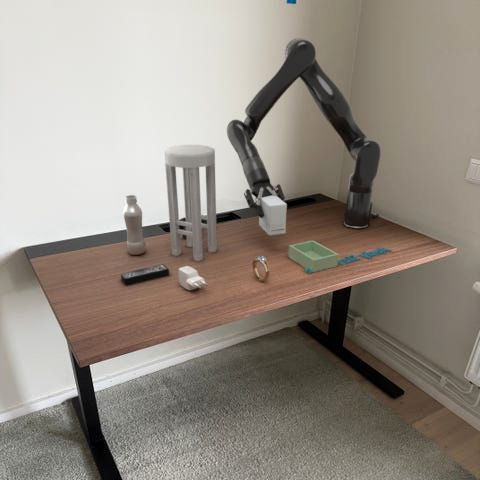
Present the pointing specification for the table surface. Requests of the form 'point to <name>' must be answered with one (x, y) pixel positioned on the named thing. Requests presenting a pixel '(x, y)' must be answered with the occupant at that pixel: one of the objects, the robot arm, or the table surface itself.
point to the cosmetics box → (273, 215)
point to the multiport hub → (144, 274)
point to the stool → (191, 197)
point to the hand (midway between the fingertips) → (272, 214)
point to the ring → (266, 266)
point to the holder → (313, 255)
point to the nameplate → (366, 254)
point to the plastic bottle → (134, 226)
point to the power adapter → (190, 278)
